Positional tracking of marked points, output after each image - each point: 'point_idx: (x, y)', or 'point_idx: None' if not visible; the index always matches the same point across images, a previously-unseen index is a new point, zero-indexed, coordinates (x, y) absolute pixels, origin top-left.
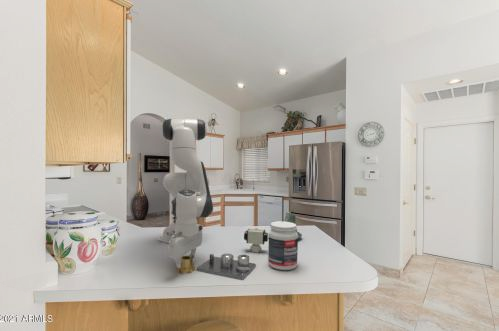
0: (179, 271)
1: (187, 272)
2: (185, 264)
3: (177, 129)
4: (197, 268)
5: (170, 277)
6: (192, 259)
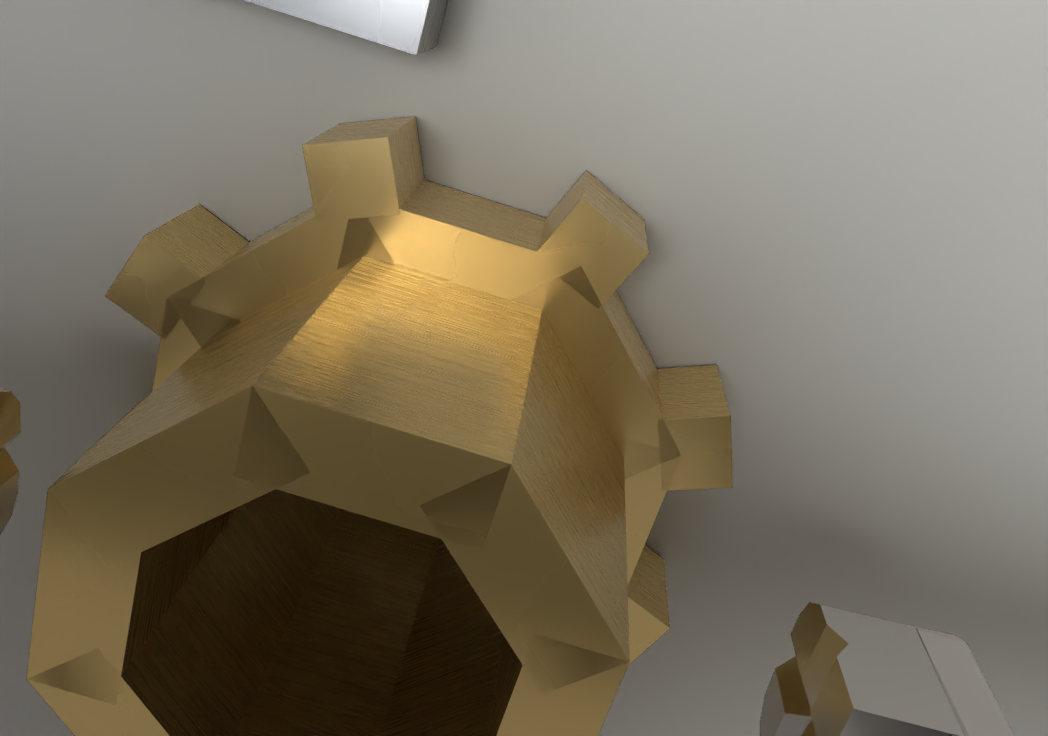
0: (639, 557)
1: (627, 315)
2: (613, 515)
3: None
4: (434, 14)
5: None
6: (284, 353)
